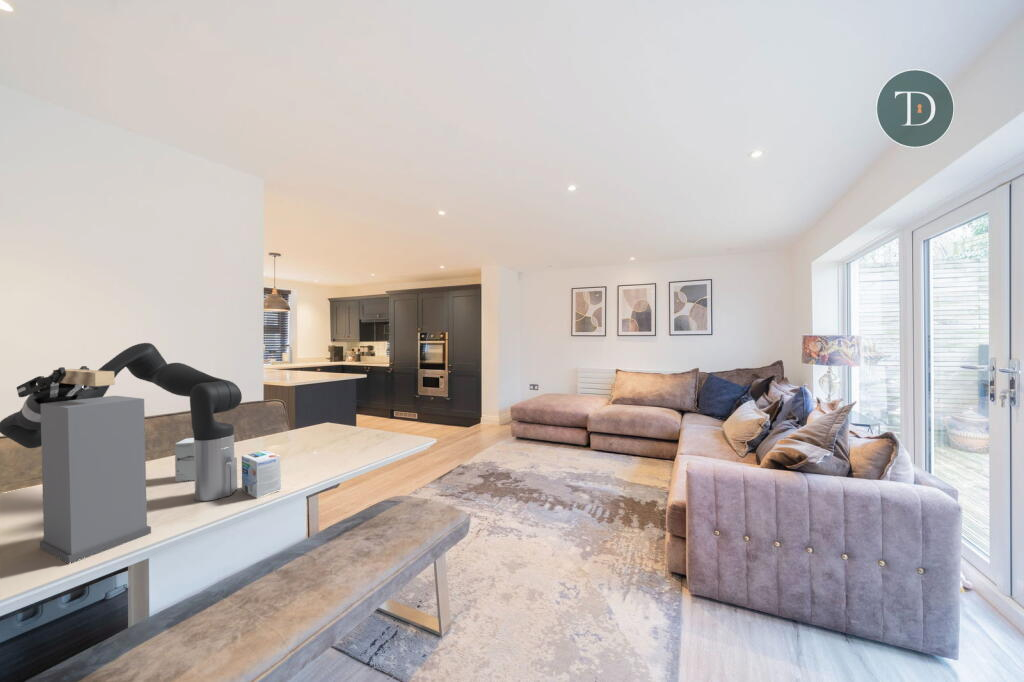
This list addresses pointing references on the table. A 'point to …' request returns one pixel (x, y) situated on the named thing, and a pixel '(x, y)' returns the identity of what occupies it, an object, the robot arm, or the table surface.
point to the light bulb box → (261, 473)
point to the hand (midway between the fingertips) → (74, 370)
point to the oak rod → (88, 377)
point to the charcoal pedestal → (93, 475)
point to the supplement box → (184, 460)
